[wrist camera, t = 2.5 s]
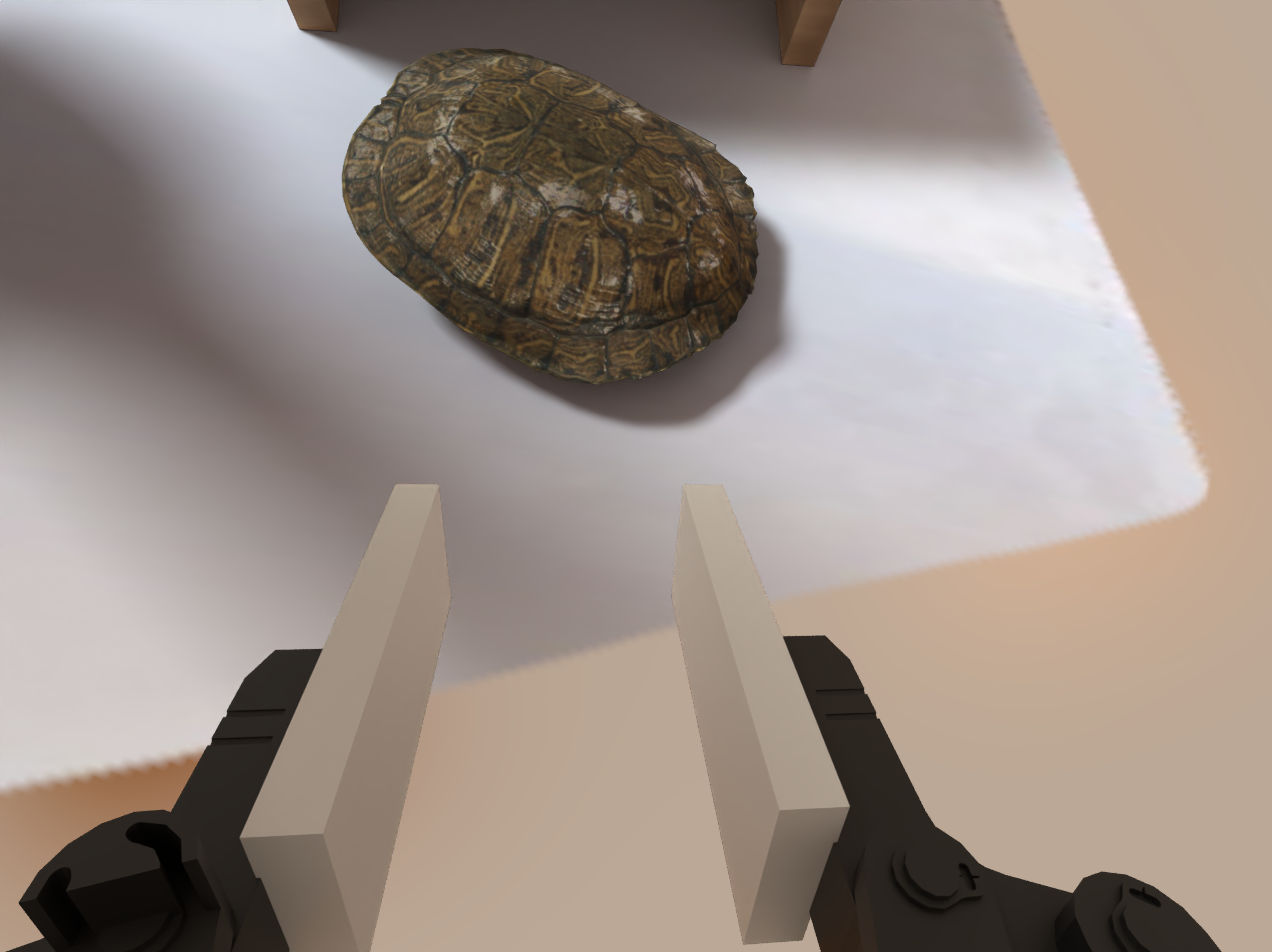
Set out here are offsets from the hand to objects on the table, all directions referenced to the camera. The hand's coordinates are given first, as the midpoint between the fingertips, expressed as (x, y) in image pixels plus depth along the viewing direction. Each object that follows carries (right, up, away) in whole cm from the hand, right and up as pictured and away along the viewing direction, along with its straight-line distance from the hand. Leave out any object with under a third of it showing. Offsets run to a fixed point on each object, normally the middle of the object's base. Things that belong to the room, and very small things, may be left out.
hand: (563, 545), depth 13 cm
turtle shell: (-2, +14, +23) cm, 27 cm away
